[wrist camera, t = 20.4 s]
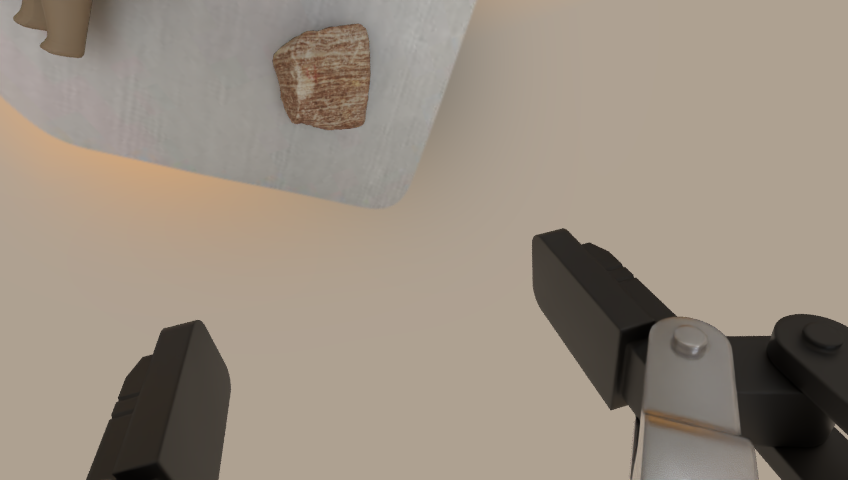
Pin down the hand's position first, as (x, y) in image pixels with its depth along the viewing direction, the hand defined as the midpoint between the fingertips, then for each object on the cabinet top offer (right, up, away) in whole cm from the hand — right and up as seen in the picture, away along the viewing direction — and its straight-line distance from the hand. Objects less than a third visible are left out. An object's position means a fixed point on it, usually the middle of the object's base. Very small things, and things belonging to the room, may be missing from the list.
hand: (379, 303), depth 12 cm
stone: (-6, +13, +22) cm, 26 cm away
